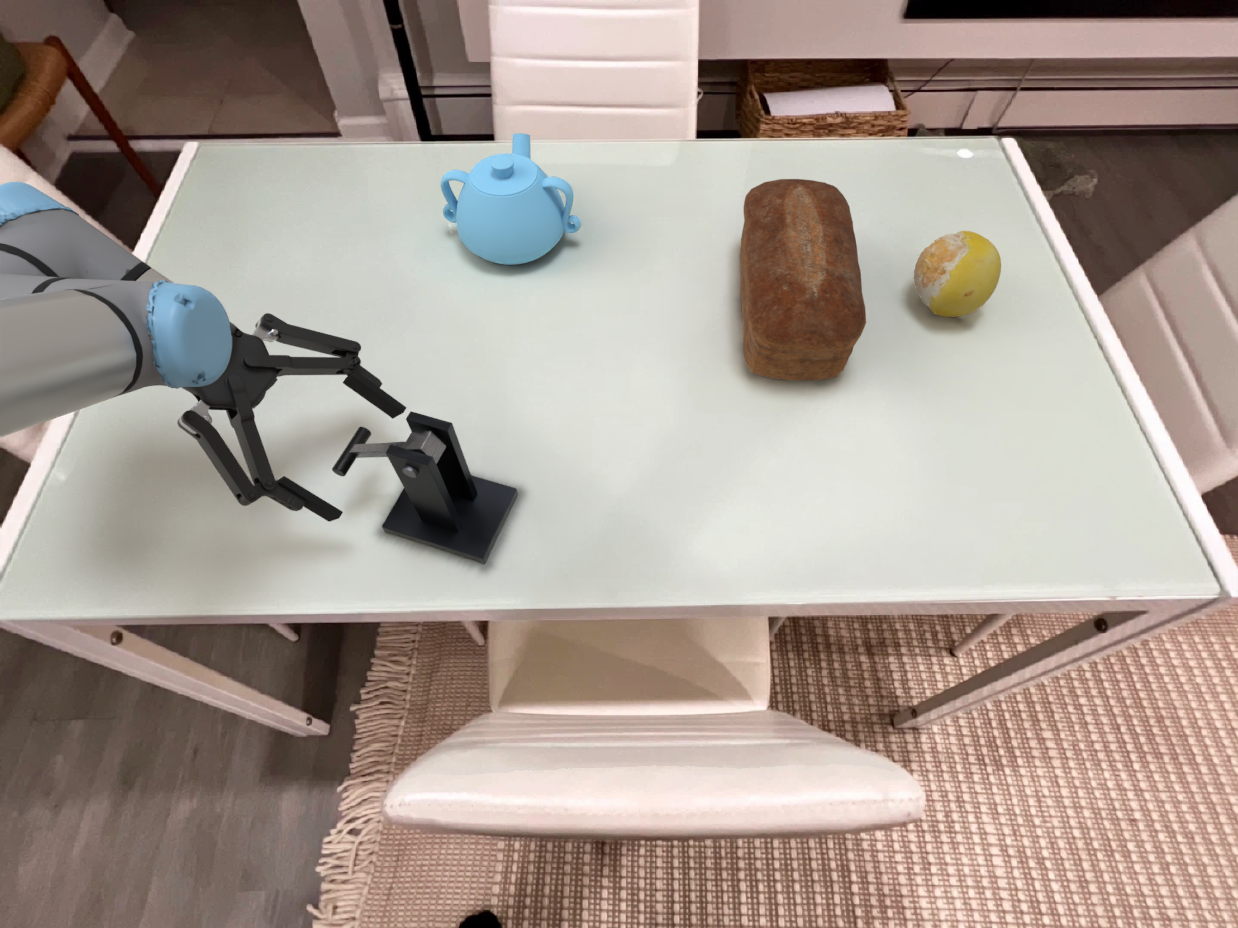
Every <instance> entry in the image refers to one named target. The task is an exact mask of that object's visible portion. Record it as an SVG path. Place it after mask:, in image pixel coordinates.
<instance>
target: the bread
mask: <svg viewBox="0 0 1238 928" xmlns="http://www.w3.org/2000/svg"><path fill="white" fill-rule="evenodd" d="M743 221H744V222H743V226H742V232H741V238H740V248H739V249H740V250H739V266H740V282H739V283H740V304H741V313H742V314H741V315H742V350H743V357H744V360H745V364H746V366H747V367H748V369H749V370H750V372H751V373H752V374H755V375H758V376H761V377H764V378H770V379H775V380H776V379H777V380H785V381H796V382H797V381H825V380H830V379H833V378H834V379H835V378H837V377H838V376H839V375H840V374H841V373H842V372H843V371H844V369H845V367H846V366H847V364H848V362H849V358H850V357H851V355H852V353H853V349H854V346H855V345H856V343H858V341H859V339H860V338H861V336H862V334H863V331H864V329H865V326H866V324H867V317H866V316H867V315H866V305H865V299H864V294H863V287H862V286H863V285H862V275H861V274H862V273H861V267H860V264H859V256H858V254H859V253H858V245H857V238H856V234H855V231H854V222H853V217H852V213H851V208H850V205H849V203H848V201H847V199H846V197H845V196H844V194H843V193H842V192H841V190H840V189H839V188H838V187H836V186H835V185H833V184H829V183H827V182H823V181H817V180H813V179H803V178H780V179H774V180H771V181H770V180H769V181H763V182H762V183H760V184H758V185H756V186H754V187H752V188H751V189H749V191H748V192H747V193H746V195H745V197H744V202H743Z"/></svg>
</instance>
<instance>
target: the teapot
mask: <svg viewBox="0 0 1238 928" xmlns="http://www.w3.org/2000/svg"><path fill="white" fill-rule="evenodd" d="M511 142H512V144H511V145H512V146H511V149H512V151H511V153H509V152H507V153H497V154H493V155H490V156H487V157H485V158H483V159H481V160H480V161H479V162H477V163H475V164H474V166H473V167H472V169H471V170H470V172H467V171H464V170H461V169H451V170H449V171H447V172H445V173H444V174H443V175H442V177H441V179H440V189H441V192H442V195H443V197H444V199H445V201H446V203H447V204H445V205H444V206H443V208H442V214H443V217H444V219H445V220H447V221H448V222H450V223H454V224H456V230H457V234H458V237H459V240H460V241H461V243H463V245H464V246H465V248H467V249H468V250H469V251H470V252H471V253H473V254H474V255H476V256H477V257H480V258H481V259H484V260H486V261H488V262H491V263H495V264H499V265H511V266H512V265H522V264H527V263H530V262H533V261H535V260H539V259H540V258H542V257H543V256H545V255H546V254H547V253H548V252H550V251H551V250H552V249H553V248H554V247H555V246H556V245H557V244H558V243H559V241H560V240H561V239H562V237H563V235H564V233H567V234H574V233H577V232H578V231H579V230H580V228H581V225H582V222H581V219H580V218H579V217H578V216H577V215H575V214H571V213H572V209H573V204H574V197H575V196H574V195H575V194H574V190H573V187H572V186H571V184H570V183H569V182H567V180H565V179H564V178H561V177H558V176H549V175H547V173H546V172H545V171H544V170H543V169H542V168H541V166H539V164H537V163H536V162H535V161H533V159H531V157H532V156H531V153H532V152H531V134H528V133H519V132H518V133H512V141H511ZM451 181H456V182H460V183H462V187H461V189H460V193H459V195H458V199H457V196H455V193H454V192H453V190H452V187H451V185H450V182H451ZM560 192H562V194H564V196H565V204H564V201H563V198H562V196H561V194H560Z"/></svg>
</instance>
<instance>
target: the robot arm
mask: <svg viewBox="0 0 1238 928" xmlns="http://www.w3.org/2000/svg"><path fill="white" fill-rule="evenodd" d="M254 326H255V329H254V331H253V332H252V334H250V333H246V332H244V331H242V330H241V329H240V328H239V327H238V326H237V325H235V324H234V323H233V322H232V321H230V318H229V315H228V313H227V310H226V308H225V307H224V305H223V304H222V302H221V301H220V300H219V298H218V297H216V295H215V294H213V292H211V291H210V290H208V289H206V288H204V287H201V286H199V285H194V284H193V285H192V284H186V283H185V284H184V283H177V282H174V281H173V280H171V279H169V278H168V277H166V276H165V275H163V274H162V273H161V272H159V271H158V270H156V268H154V267H151V266H150V264H148V263H146V262H144V261H143V260H142V259H140V258H139V257H138V256H136V255H134V254H133V253H132V252H130V251H129V250H128V249H126V248H125V247H124V246H123V245H121V244H119V243H118V242H116V241H115V240H114V239H112V238H111V237H110V236H108V235H107V234H105V233H104V232H102V230H100V229H98V228H97V227H96V226H94V225H93V224H91V223H90V222H89V221H88V220H86V219H85V218H83V217H82V216H81V215H80V214H79V213H78V212H76V211H75V210H74V209H73V208H72V207H69V206H66V205H64V204H62V203H61V202H59V201H58V200H56V199H54V198H53V197H51V196H49V195H48V194H47V193H44V192H43V191H41V190H39V189H38V188H36V187H35V186H33V185H31V184H29V183H26V182H23V181H8V182H5V183H1V184H0V439H1V438H4V437H6V436H9V435H12V434H15V433H17V432H21V431H23V430H26V429H29V428H32V427H35V426H38V425H41V424H43V423H46V422H49V421H52V420H54V419H57V418H61V417H63V416H66V415H69V414H72V413H75V412H77V411H80V410H82V409H86V408H88V407H91V406H94V405H97V404H99V403H102V402H105V401H107V400H112V399H115V398H116V397H119V396H122V395H126V394H129V393H132V392H135V391H138V390H142V389H143V388H147V387H157V386H161V387H162V386H163V387H168V388H171V389H176V390H177V389H180V388H181V389H183V390H185V391H187V392H188V393H190V394H191V395H192V396H193V397H194V398H195V400H197V402H196V404H194V405H193V406H192V407H191V408H190V409H188V410H186V411H184V412H183V413H182V414H181V416H180V417H179V418H178V419H177V421H176V422H177V426H178V427H179V429H181V430H182V431H184V432H185V433H187V434H188V435H189V436H191V437H192V438H193V439H194V440H196V442H197V443H198V445H199V446H200V447H201V449H202V451H203V452H204V454H205V455H206V456H207V458H208V459H209V461H210V462H211V464H212V465H213V467H214V468H215V470H216V471H217V473H218V474H219V476H220V477H221V478H222V480H223V481H224V483H225V485H226V486H227V487H228V489H229V490H230V492H231V493H232V495H233V496H234V498H235V499H236V501H237V502H238V503H239V504H240V505H241V506H244V507H246V506H249V505H251V504H253V503H255V502H257V501H258V500H259V499H261V498H262V497H267V498H269V499H271V500H272V501H274V502H276V503H277V504H280V505H281V506H283V507H285V508H286V509H288V510H290V511H292V512H299V511H301V510H302V509H303V508H306V509H307V510H308V511H310V512H312V513H314V514H315V515H317V516H318V517H320V518H321V519H323V520H325V521H327V522H328V523H330V522H333V521H336V520H338V519H340V518H341V516H342V515H343V513H344V512H343V510H342V509H341V510H340V509H339V508H337V507H336V506H334V505H333V504H331V503H330V502H327V501H326V500H324V499H323V498H321V497H319V496H318V495H316V494H314V493H313V492H311V491H310V490H308V489H306V488H305V487H303V486H301V485H300V484H298V483H296V482H295V481H293V480H292V479H290V478H288V477H287V476H285V475H283V476H281V477H280V478H278V479H276V478H275V475H274V472H273V470H272V467H271V464H270V460H269V458H268V455H267V451H266V449H265V446H264V444H263V441H262V438H261V435H260V432H259V430H258V426H257V424H256V421H255V412H254V409H255V408H256V407H258V406H259V405H260V404H261V402H262V401H263V400H264V398H265V397H266V394H267V392H268V390H270V389H271V388H272V387H273V386H274V385H275V384H276V383H277V381H278V377H279V378H280V377H284V376H346V377H345V378H344V380H343V381H342V384H343V385H345V386H346V387H347V388H349V389H351V390H352V391H353V392H354V393H356V394H357V395H359V396H360V397H361V398H363V399H365V400H366V401H367V402H369V403H370V404H371V405H373V406H374V407H376V408H377V409H379V410H380V411H381V412H383V413H384V414H386V415H387V416H388V417H389V418H391V419H395V418H397V417H398V416H401V415H403V414H404V413H405V411H406V410H407V406H406V405H404V404H403V403H401V402H400V401H398V400H397V399H396V398H394V397H393V396H392V395H390V394H389V393H388V392H386V390H383V389H382V388H381V387H382V386H383V382H382V381H381V379H380V378H379V377H377V376H376V375H374V374H373V373H372V372H370V371H369V370H368V369H367V368H365V367H363V366H362V365H361V364H362V360H361V358H360V357H359V355H360V354H359V353H360V351H361V350H362V345H361V344H360V342H358V341H355V340H352V339H349V338H345V337H340V336H337V335H333V334H329V333H325V332H321V331H316V330H313V329H310V328H306V327H301V326H299V325H294V324H289V323H287V322H286V321H284V320H282V319H281V318H279V317H278V316H275V315H274V314H272V313H270V312H266V313H264V314H263V315H262V316H261V317H260V318H259V320H258V321H257V322H256V323H255V325H254ZM265 342H268V343H274V342H277V343H280V344H283V345H286V346H290V347H291V346H292V347H296V348H299V349H304V350H309V351H312V352H317V353H320V354H325V355H329V357H328V356H291V355H287V354H270V353H269V351H268V348H267V346H266V344H265ZM209 410H210V411H225V412H226V416H227V418H228V421H229V424H230V426H231V428H232V429H233V431H235V435H236V438H237V441H238V444H239V447H240V450H241V453H242V455H243V458H244V461H245V464H246V467H247V469H248V472H249V475H250V477H249V476H248V475H247V473H246V472H245V470H244V468H243V467H242V466H241V464H240V463H239V461H238V460H237V458H236V457H235V456H234V453H232V451H231V450H230V448H229V446H228V445H227V443H226V442H225V440H224V439H223V437H222V436H221V434H220V433H219V432H218V430H217V429H216V428H215V426H214V425H212V423H213V418H212V416H211V415H210V412H209ZM250 478H251V479H250ZM251 480H252V481H251Z"/></svg>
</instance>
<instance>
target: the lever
mask: <svg viewBox="0 0 1238 928" xmlns="http://www.w3.org/2000/svg"><path fill="white" fill-rule="evenodd" d="M371 436H372V432H371V430H370V429H368V428H367V427H364V426H358V428H357V430H355V433H354V434H353V435H352V437H351V438H350V440H349V442H348V443H347V445H346V447H345V448H344V449H343V451H342V452H341V454H340V456H339V457H338V459H337V460H336V462H335V463H334V465H333V466H332V468H331V471H332V472H333V474H336V475H337V476H340V477H346V475H347V473H348V472H349V471H350V469H351V468H352V466H353V464H354V463H355V462H356V459H365V458H368V459H369V458H388V457H387V455H386V451H387V449H388V448H389V446H390V445H394V446H398V447H401V448H405V449H408V450H411V451H415V452H418V453H422V454H425V455H429V456H432V457H433V458H434V461H435V463H436V464H437V462H438V461H439V459H440V457H441V455H442V453H443V452H444V450H445V448H446V445H445V444H444V443H443V442H442V441H441V440H440V439H439V438H438V437H437V436H436V435H435V434H433V433H432V432H431V431H424V432H411V433H410V434H409V435H408V437H407V439H406V441H387V442H372V443H371V442H370V443H367V442H368V440H369V439H370V437H371Z"/></svg>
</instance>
